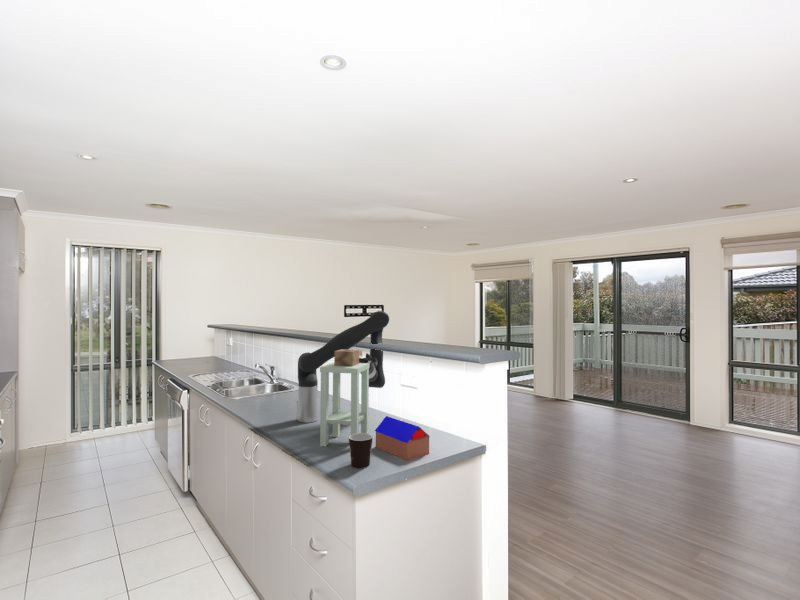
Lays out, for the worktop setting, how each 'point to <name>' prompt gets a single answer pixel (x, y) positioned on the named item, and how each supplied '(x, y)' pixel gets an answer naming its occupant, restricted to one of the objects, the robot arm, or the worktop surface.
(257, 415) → the worktop surface
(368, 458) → the dark brown cup
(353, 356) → the cube on tan board
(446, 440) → the worktop surface
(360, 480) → the worktop surface
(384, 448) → the house
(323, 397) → the tall stand
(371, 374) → the robot arm
